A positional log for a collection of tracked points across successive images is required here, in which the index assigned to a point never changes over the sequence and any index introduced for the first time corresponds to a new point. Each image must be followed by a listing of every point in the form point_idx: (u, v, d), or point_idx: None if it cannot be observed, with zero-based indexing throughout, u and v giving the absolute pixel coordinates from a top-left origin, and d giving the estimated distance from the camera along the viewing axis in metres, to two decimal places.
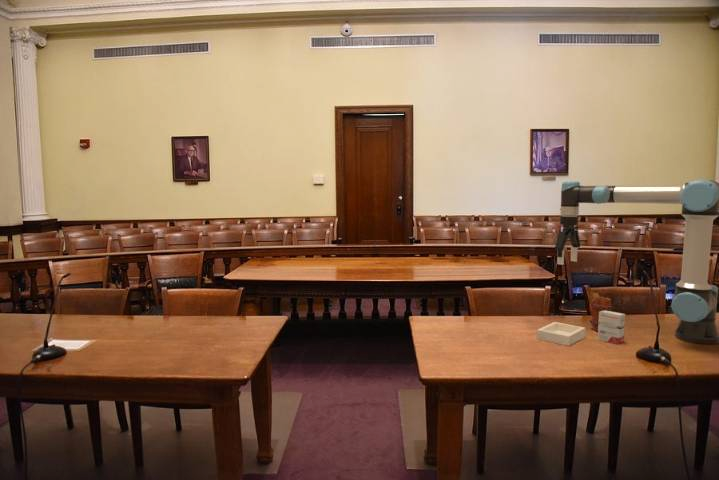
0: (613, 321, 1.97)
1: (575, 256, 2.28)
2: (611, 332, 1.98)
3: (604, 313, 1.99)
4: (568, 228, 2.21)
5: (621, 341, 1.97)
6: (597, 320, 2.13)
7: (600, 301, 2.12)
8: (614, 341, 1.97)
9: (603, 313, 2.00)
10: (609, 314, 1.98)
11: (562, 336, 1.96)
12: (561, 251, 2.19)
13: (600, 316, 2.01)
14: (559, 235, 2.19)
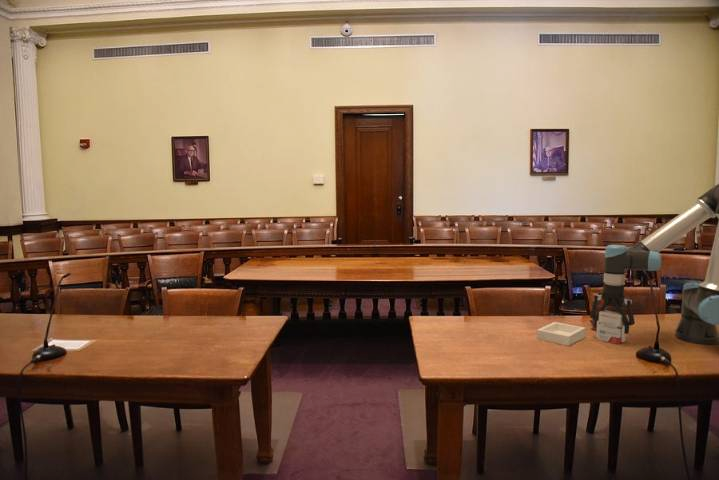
0: (614, 321, 1.97)
1: None
2: (611, 332, 1.98)
3: (604, 313, 1.99)
4: (604, 296, 2.00)
5: None
6: None
7: (600, 301, 2.12)
8: (614, 340, 1.97)
9: (603, 313, 2.00)
10: (609, 314, 1.98)
11: (562, 336, 1.96)
12: (596, 321, 2.03)
13: (600, 316, 2.01)
14: None
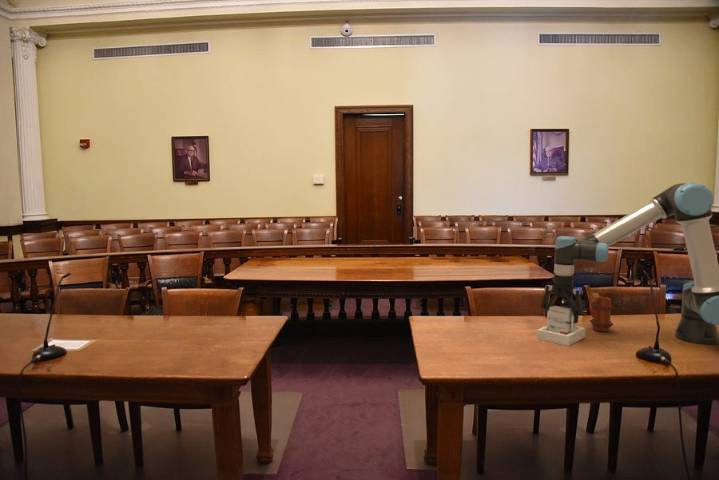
0: (562, 316, 2.01)
1: None
2: (560, 327, 2.02)
3: (554, 308, 2.04)
4: (555, 286, 2.04)
5: None
6: (597, 320, 2.13)
7: (600, 301, 2.12)
8: None
9: (553, 308, 2.04)
10: (558, 309, 2.02)
11: (562, 336, 1.96)
12: (546, 311, 2.07)
13: (550, 311, 2.05)
14: None
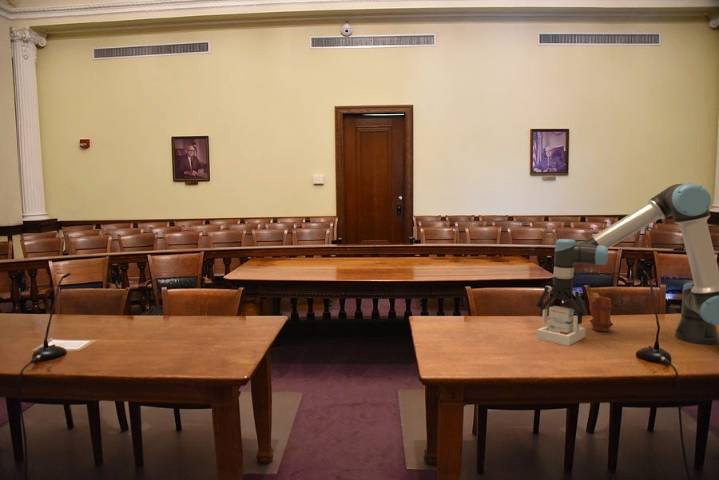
0: (562, 316, 2.01)
1: None
2: (560, 327, 2.02)
3: (554, 308, 2.04)
4: (554, 289, 2.04)
5: None
6: (597, 320, 2.13)
7: (600, 301, 2.12)
8: None
9: (553, 308, 2.04)
10: (558, 309, 2.02)
11: (562, 336, 1.96)
12: (542, 310, 2.09)
13: (550, 311, 2.05)
14: None
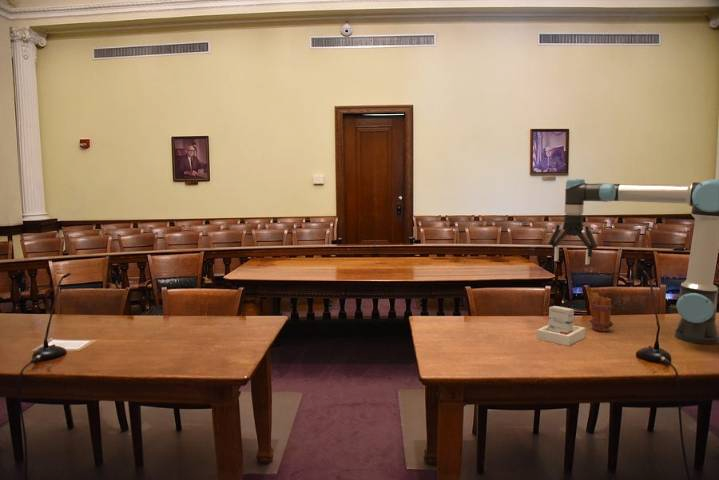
0: (562, 316, 2.01)
1: None
2: (560, 327, 2.02)
3: (554, 308, 2.04)
4: (566, 226, 2.19)
5: None
6: (597, 320, 2.13)
7: (600, 301, 2.12)
8: None
9: (553, 308, 2.04)
10: (558, 309, 2.02)
11: (562, 336, 1.96)
12: (554, 247, 2.24)
13: (550, 311, 2.05)
14: None
